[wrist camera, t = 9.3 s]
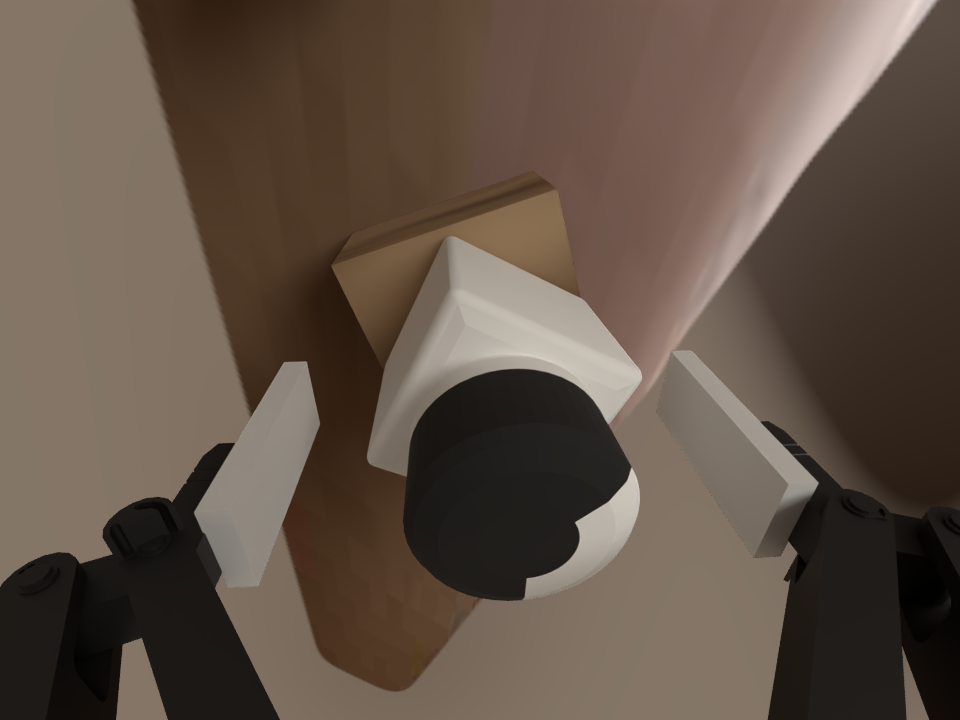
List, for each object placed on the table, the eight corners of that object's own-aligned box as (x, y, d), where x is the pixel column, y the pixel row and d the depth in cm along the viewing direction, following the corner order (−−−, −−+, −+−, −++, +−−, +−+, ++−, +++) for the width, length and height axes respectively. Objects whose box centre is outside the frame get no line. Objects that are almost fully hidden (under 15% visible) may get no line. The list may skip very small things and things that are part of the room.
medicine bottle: (383, 366, 22) (333, 600, 11) (446, 230, 19) (459, 372, 9) (512, 415, 24) (572, 653, 13) (586, 299, 21) (737, 483, 11)
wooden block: (354, 231, 25) (330, 265, 19) (531, 169, 24) (557, 188, 19) (421, 378, 30) (416, 438, 24) (570, 332, 29) (598, 383, 23)
